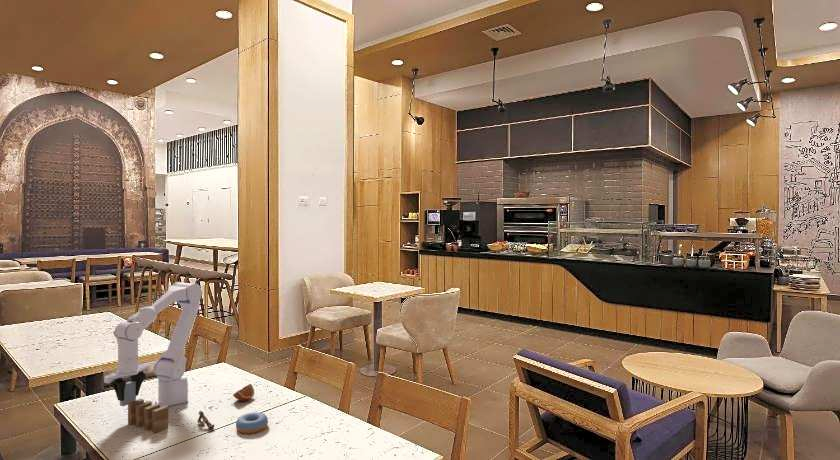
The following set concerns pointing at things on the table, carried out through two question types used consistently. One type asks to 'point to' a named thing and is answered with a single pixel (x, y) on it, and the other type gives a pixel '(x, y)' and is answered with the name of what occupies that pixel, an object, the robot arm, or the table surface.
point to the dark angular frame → (204, 421)
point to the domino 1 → (129, 393)
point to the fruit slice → (245, 393)
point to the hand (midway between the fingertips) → (128, 397)
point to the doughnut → (251, 423)
